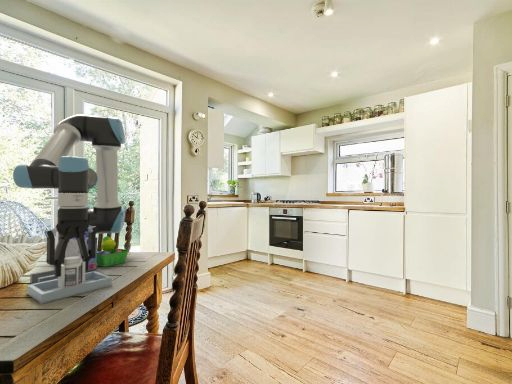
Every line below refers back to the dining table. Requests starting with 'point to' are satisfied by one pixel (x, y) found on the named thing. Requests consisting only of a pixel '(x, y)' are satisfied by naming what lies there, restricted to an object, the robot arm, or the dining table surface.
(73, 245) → the ink cartridge box
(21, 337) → the dining table surface
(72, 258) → the pill bottle
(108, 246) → the fruit basket
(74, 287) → the parts tray
